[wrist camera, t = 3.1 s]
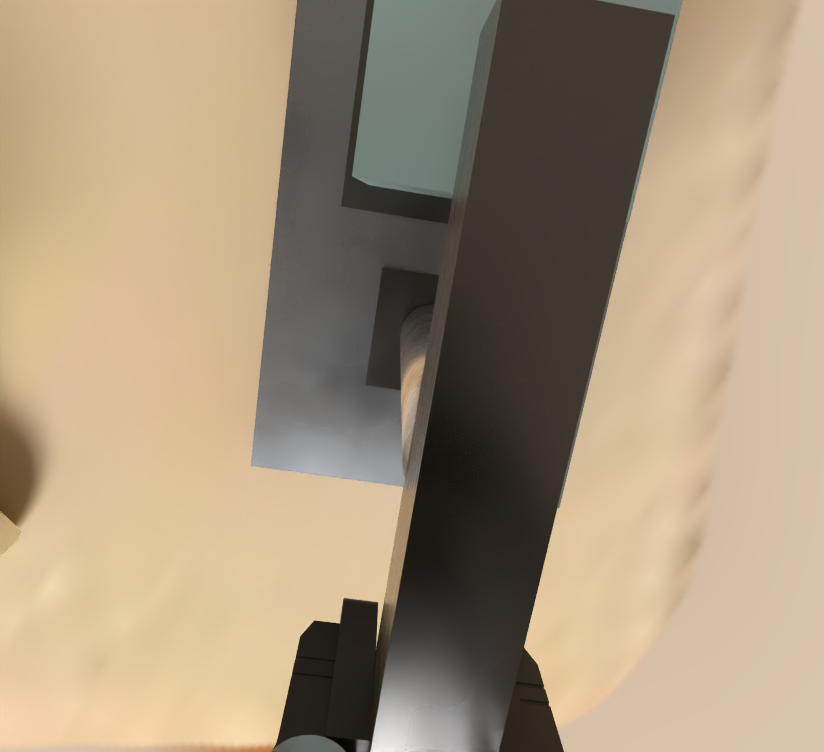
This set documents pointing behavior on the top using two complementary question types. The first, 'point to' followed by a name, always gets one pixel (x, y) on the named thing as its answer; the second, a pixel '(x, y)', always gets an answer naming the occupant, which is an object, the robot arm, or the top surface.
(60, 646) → the top surface
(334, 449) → the housing
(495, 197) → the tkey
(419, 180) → the light blue block
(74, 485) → the top surface
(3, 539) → the valve
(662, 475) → the top surface
